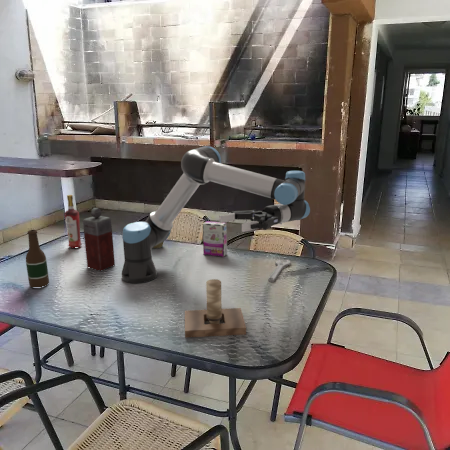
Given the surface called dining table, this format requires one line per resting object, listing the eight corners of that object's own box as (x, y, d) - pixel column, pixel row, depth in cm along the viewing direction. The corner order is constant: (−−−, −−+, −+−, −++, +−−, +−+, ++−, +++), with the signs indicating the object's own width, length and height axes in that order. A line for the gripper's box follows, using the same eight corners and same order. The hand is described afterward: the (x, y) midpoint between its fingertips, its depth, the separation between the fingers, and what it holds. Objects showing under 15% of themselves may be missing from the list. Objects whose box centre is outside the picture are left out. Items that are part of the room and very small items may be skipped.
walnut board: (185, 337, 140) (184, 330, 140) (185, 316, 154) (184, 310, 153) (246, 334, 142) (246, 327, 141) (240, 314, 155) (240, 308, 155)
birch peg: (207, 329, 145) (206, 285, 141) (206, 322, 150) (205, 279, 146) (222, 328, 146) (222, 285, 141) (221, 321, 151) (220, 278, 146)
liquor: (65, 249, 226) (59, 196, 218) (72, 244, 233) (66, 193, 225) (78, 249, 224) (72, 197, 217) (85, 245, 231) (79, 194, 224)
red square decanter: (98, 260, 209) (93, 204, 201) (115, 265, 203) (110, 207, 195) (83, 266, 201) (77, 208, 194) (100, 271, 196) (95, 211, 188)
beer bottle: (53, 283, 183) (46, 229, 176) (38, 290, 176) (31, 234, 170) (40, 280, 186) (32, 227, 180) (25, 287, 180) (17, 232, 173)
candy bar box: (227, 254, 217) (227, 222, 212) (223, 257, 212) (223, 225, 208) (206, 251, 221) (206, 220, 216) (203, 254, 216) (202, 223, 211)
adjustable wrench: (273, 283, 183) (273, 279, 182) (259, 281, 185) (259, 277, 185) (291, 263, 204) (291, 260, 204) (278, 261, 207) (278, 258, 206)
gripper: (298, 231, 156) (252, 242, 145) (255, 217, 176) (211, 225, 164) (299, 211, 154) (252, 220, 143) (255, 199, 174) (211, 206, 162)
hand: (230, 223), depth 153 cm, fingers open, 13 cm apart
